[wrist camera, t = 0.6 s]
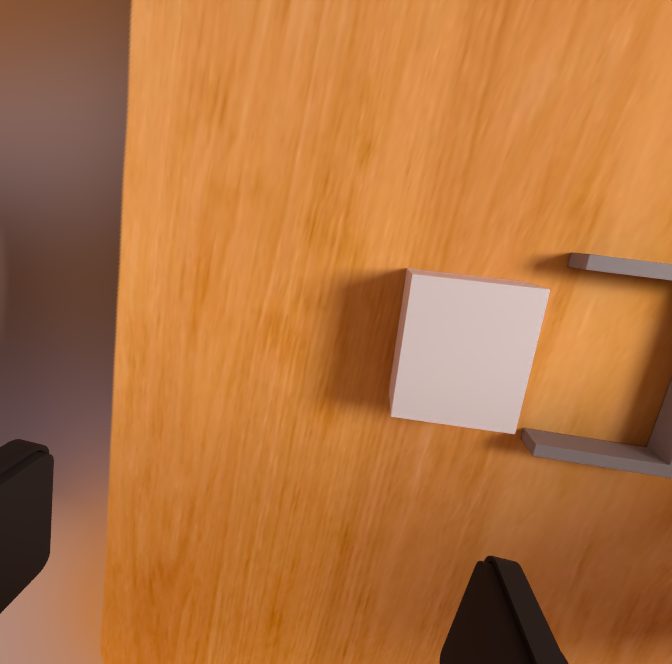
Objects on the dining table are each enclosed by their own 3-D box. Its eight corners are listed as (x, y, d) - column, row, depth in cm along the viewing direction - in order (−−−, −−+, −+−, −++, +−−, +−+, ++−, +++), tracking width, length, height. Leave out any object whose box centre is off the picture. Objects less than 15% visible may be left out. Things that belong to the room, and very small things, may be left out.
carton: (521, 280, 29) (550, 289, 24) (493, 403, 31) (515, 434, 26) (406, 267, 29) (412, 274, 25) (388, 389, 32) (390, 416, 27)
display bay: (726, 271, 27) (761, 275, 24) (655, 460, 31) (679, 479, 28) (571, 252, 28) (590, 254, 25) (520, 439, 31) (532, 455, 29)
